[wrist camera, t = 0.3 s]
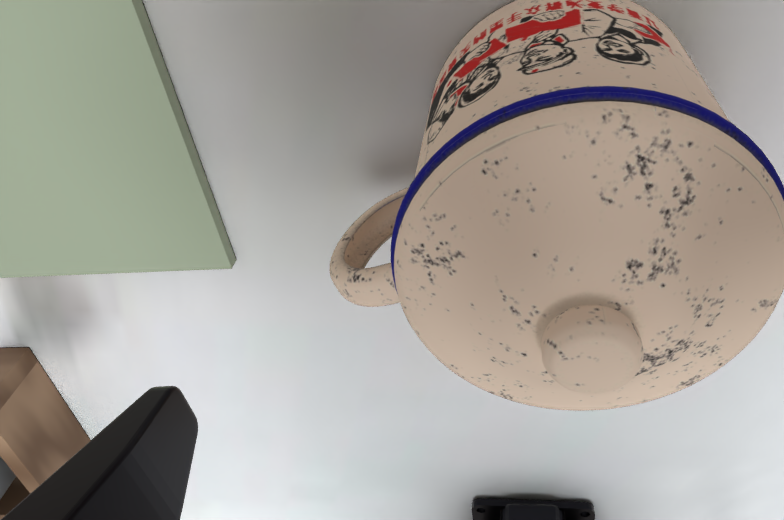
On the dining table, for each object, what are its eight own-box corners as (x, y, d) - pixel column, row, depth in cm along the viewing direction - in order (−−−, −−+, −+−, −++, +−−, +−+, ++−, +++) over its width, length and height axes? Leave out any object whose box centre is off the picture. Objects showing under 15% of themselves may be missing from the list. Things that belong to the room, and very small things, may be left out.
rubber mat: (236, 260, 28) (231, 268, 28) (-4, 270, 30) (-12, 278, 30) (128, -37, 21) (119, -33, 21) (-173, 6, 23) (-187, 11, 23)
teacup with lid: (669, -78, 18) (834, 84, 9) (722, 185, 23) (867, 468, 14) (305, 77, 23) (170, 293, 13) (412, 272, 27) (365, 533, 18)
